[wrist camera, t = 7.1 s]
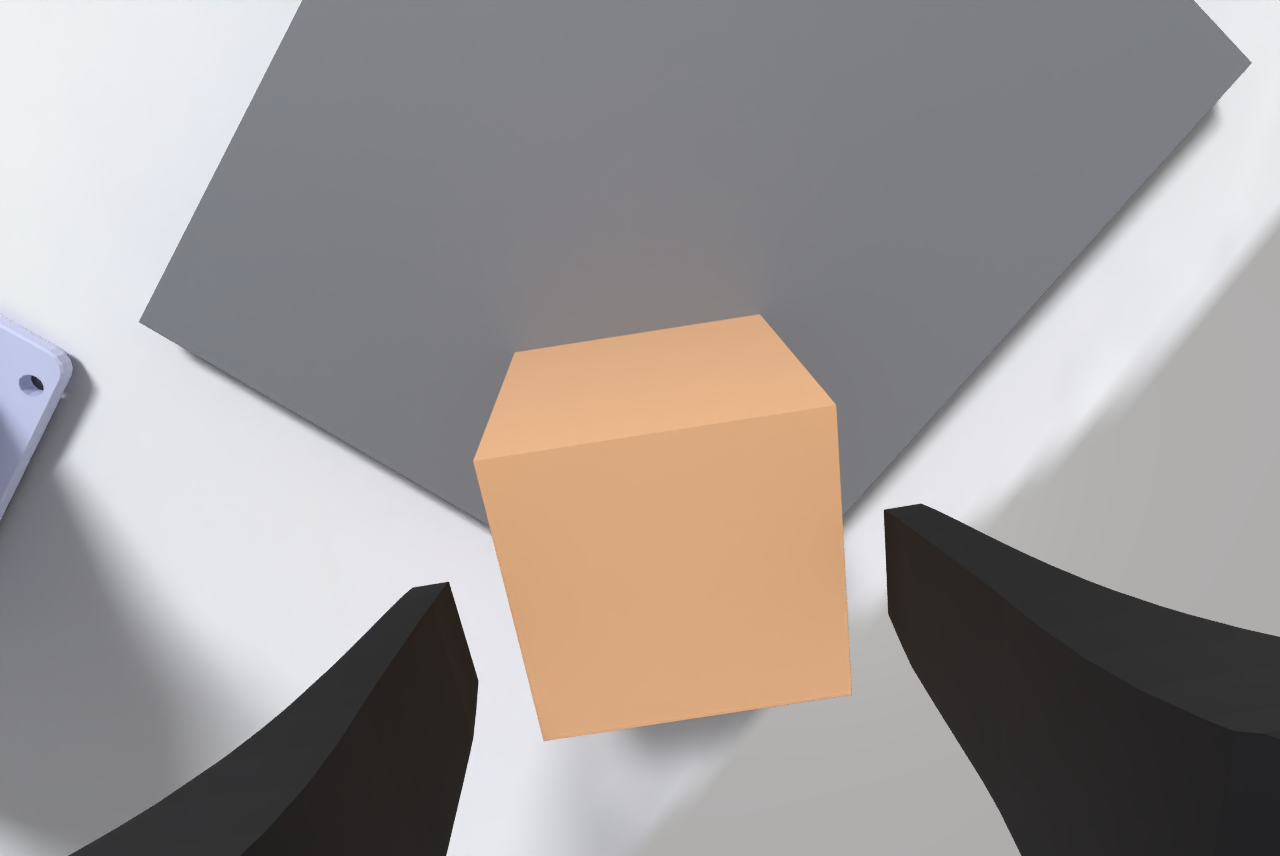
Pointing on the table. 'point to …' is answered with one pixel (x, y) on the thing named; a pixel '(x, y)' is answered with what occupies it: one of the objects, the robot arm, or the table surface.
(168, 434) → the table surface
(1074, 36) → the duct panel
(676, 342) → the orange cube
